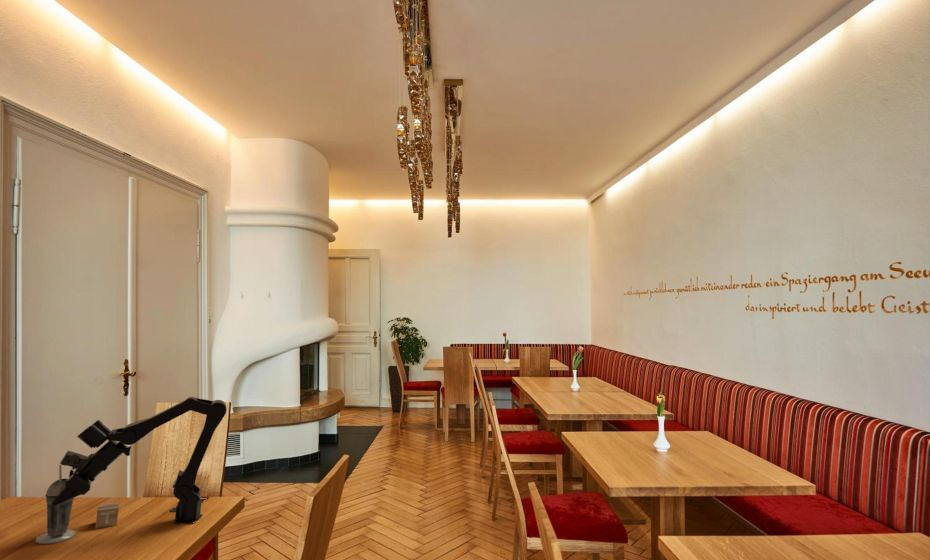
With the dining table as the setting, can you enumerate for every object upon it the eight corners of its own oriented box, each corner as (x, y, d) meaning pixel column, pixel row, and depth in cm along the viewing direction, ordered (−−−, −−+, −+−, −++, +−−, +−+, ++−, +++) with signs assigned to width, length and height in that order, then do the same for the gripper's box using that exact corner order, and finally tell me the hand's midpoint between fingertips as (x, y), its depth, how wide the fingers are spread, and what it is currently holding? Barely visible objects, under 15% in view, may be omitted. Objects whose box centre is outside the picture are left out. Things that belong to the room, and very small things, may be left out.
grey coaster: (82, 531, 153) (82, 529, 153) (60, 544, 144) (60, 542, 144) (51, 531, 152) (51, 529, 152) (27, 544, 143) (27, 542, 143)
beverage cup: (79, 528, 151) (85, 461, 153) (57, 539, 144) (64, 468, 146) (57, 527, 152) (63, 460, 154) (34, 537, 145) (41, 466, 147)
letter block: (96, 522, 160) (98, 504, 160) (117, 519, 163) (118, 502, 163) (95, 529, 155) (97, 510, 155) (116, 525, 158) (118, 507, 158)
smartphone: (168, 511, 170) (191, 495, 185) (167, 513, 170) (190, 497, 185) (189, 511, 170) (210, 496, 185) (189, 513, 170) (210, 498, 185)
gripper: (84, 435, 160) (36, 475, 153) (79, 448, 145) (25, 493, 138) (112, 457, 164) (66, 497, 157) (110, 472, 148) (59, 517, 141)
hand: (54, 500), depth 148 cm, fingers closed on beverage cup, 7 cm apart
